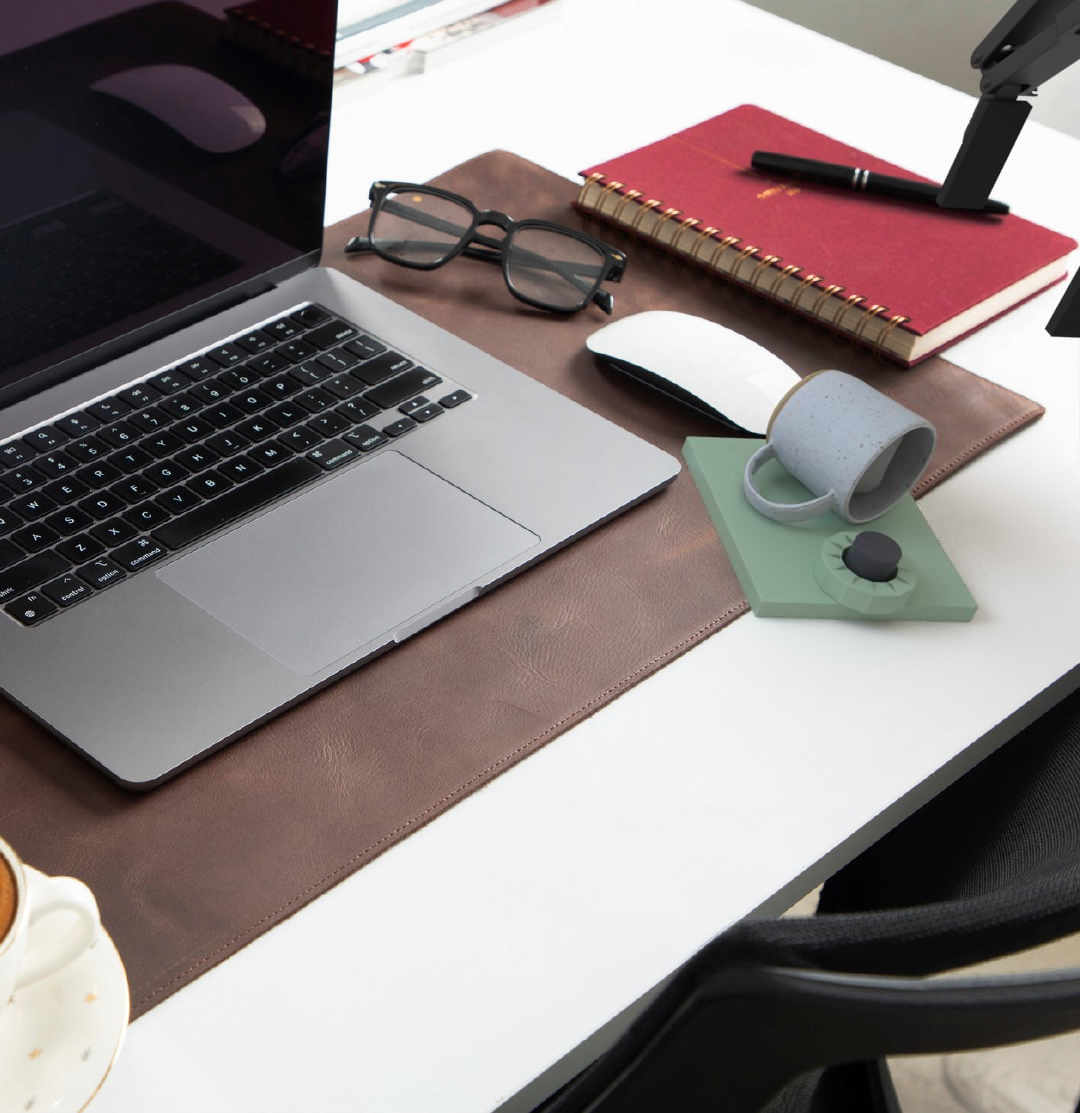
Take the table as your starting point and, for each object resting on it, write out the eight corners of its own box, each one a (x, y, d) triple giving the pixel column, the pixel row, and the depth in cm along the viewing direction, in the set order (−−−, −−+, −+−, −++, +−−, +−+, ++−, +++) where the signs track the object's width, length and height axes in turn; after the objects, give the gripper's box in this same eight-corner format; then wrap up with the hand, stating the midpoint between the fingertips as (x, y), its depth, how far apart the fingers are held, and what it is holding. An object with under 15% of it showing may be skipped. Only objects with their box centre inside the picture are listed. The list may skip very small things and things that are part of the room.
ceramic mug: (816, 435, 101) (858, 343, 96) (910, 505, 96) (958, 413, 91) (707, 478, 96) (744, 384, 91) (799, 554, 91) (843, 460, 86)
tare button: (898, 583, 88) (909, 563, 87) (854, 582, 88) (865, 561, 87) (880, 552, 90) (891, 531, 89) (837, 551, 90) (848, 530, 89)
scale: (975, 633, 90) (997, 598, 88) (759, 628, 88) (776, 593, 86) (872, 458, 102) (889, 424, 100) (680, 451, 100) (694, 417, 98)
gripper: (1018, -215, 76) (863, 156, 91) (1309, -34, 58) (1058, 395, 73) (1148, -204, 77) (974, 162, 92) (1475, -21, 59) (1195, 400, 73)
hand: (1011, 266), depth 82 cm, fingers open, 13 cm apart
